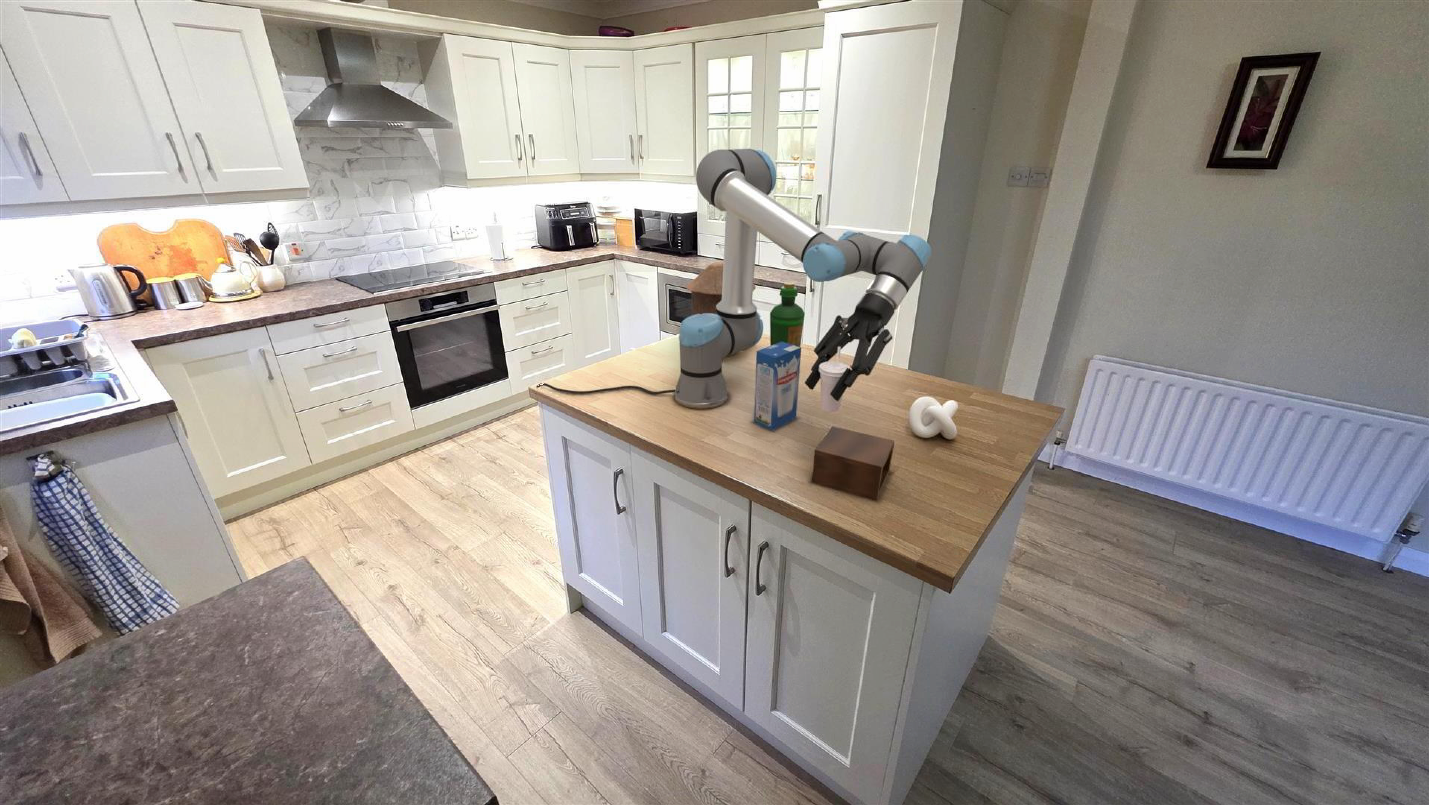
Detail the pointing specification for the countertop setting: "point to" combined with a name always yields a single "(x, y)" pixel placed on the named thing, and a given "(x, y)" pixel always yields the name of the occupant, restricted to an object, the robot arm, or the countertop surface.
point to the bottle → (787, 318)
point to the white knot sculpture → (933, 418)
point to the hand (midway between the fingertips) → (821, 391)
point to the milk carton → (776, 385)
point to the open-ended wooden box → (852, 462)
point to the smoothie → (831, 382)
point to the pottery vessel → (707, 289)
